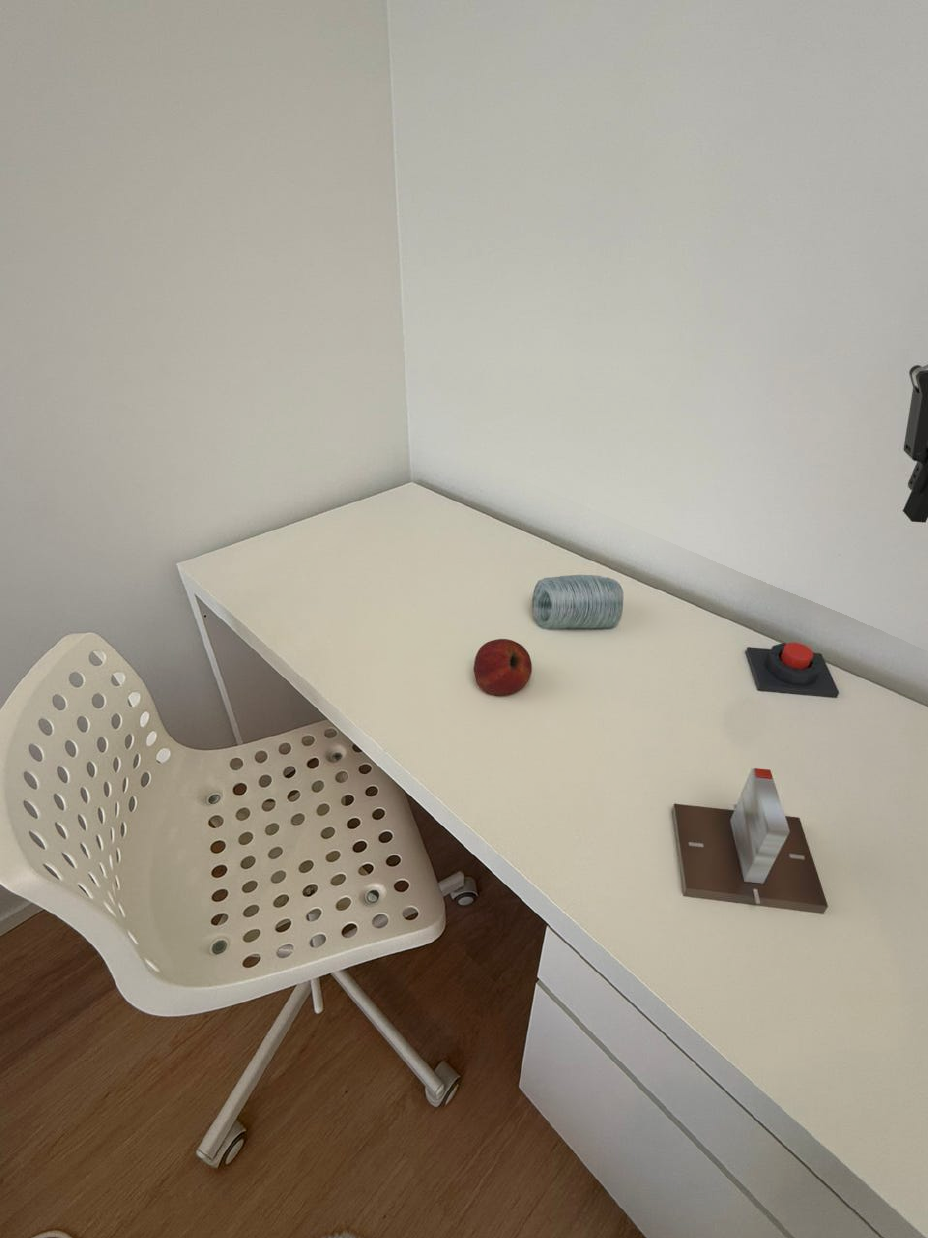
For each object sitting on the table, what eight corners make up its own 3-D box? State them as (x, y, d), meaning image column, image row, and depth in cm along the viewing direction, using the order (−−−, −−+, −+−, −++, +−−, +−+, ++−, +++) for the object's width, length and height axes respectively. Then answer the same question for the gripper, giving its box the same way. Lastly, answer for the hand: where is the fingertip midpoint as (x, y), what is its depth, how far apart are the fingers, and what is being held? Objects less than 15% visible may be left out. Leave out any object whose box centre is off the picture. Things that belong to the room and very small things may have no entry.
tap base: (790, 826, 71) (798, 811, 69) (821, 926, 62) (831, 912, 60) (668, 812, 72) (673, 797, 70) (681, 908, 63) (687, 893, 62)
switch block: (816, 665, 92) (825, 643, 89) (833, 704, 85) (844, 682, 83) (743, 658, 93) (750, 637, 90) (755, 697, 87) (763, 675, 84)
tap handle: (763, 884, 62) (791, 830, 57) (744, 882, 63) (769, 827, 57) (747, 822, 68) (771, 768, 63) (729, 820, 68) (752, 766, 63)
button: (804, 653, 88) (809, 643, 87) (812, 671, 85) (816, 661, 84) (777, 651, 89) (781, 641, 88) (784, 668, 86) (788, 658, 85)
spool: (527, 629, 93) (547, 562, 91) (521, 617, 102) (539, 556, 100) (618, 654, 94) (639, 588, 92) (603, 640, 103) (622, 580, 101)
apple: (492, 716, 84) (494, 670, 79) (462, 681, 89) (462, 635, 84) (539, 695, 87) (543, 650, 82) (507, 663, 92) (509, 618, 87)
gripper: (1069, 289, 64) (958, 505, 78) (928, 286, 65) (844, 498, 80) (1119, 306, 58) (989, 536, 72) (963, 302, 59) (866, 528, 74)
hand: (913, 516), depth 76 cm, fingers closed
